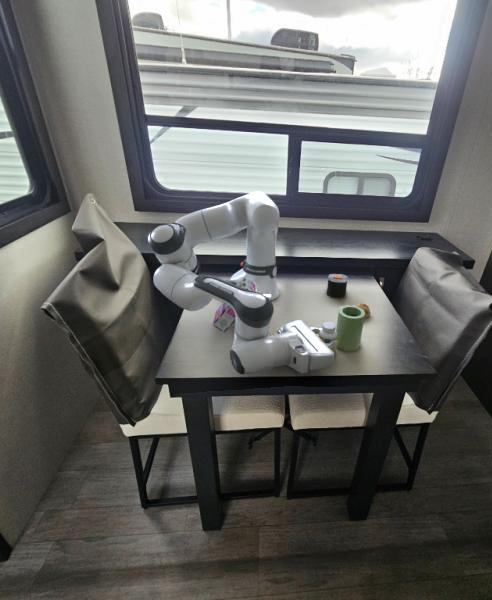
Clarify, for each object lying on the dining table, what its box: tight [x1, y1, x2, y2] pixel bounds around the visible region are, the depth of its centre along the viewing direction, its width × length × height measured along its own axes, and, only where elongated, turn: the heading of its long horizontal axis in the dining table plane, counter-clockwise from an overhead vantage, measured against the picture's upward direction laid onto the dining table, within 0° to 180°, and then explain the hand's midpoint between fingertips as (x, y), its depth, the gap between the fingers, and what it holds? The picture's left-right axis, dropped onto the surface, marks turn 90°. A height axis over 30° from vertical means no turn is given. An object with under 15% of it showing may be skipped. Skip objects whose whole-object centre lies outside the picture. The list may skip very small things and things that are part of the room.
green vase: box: [336, 304, 366, 352], centre depth 99 cm, size 8×8×12 cm
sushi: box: [326, 273, 349, 299], centre depth 131 cm, size 8×8×8 cm
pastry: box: [354, 302, 372, 318], centre depth 117 cm, size 9×7×4 cm
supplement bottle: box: [318, 321, 337, 353], centre depth 95 cm, size 5×5×10 cm
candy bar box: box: [212, 277, 256, 334], centre depth 104 cm, size 11×5×16 cm
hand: (330, 336), depth 95 cm, fingers closed on supplement bottle, 5 cm apart
